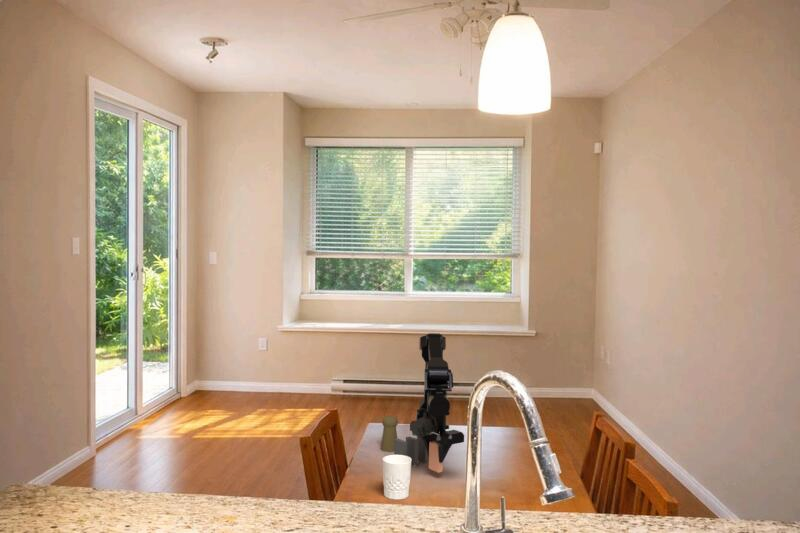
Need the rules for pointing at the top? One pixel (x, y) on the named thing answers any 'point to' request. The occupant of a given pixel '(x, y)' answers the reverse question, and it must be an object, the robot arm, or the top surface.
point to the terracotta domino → (434, 457)
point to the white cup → (396, 476)
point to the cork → (389, 433)
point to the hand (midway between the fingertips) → (435, 460)
